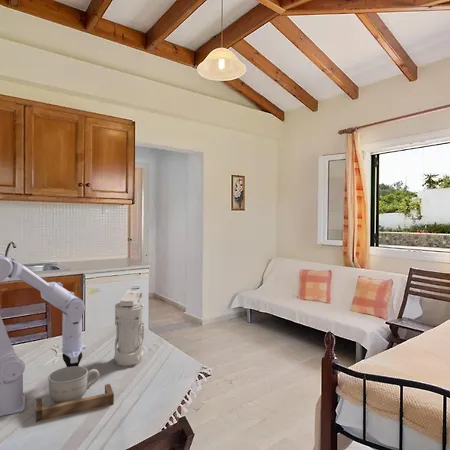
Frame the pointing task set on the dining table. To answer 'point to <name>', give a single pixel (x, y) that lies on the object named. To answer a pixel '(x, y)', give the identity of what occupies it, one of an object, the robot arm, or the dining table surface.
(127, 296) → the lantern
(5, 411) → the robot arm
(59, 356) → the scissors
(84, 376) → the teacup
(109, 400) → the dock
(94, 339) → the dining table surface
